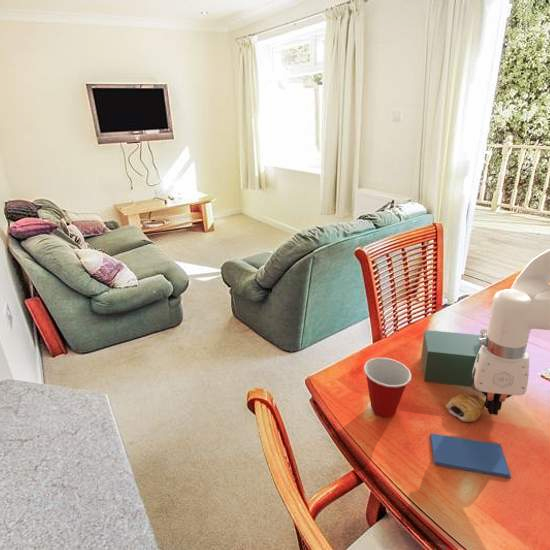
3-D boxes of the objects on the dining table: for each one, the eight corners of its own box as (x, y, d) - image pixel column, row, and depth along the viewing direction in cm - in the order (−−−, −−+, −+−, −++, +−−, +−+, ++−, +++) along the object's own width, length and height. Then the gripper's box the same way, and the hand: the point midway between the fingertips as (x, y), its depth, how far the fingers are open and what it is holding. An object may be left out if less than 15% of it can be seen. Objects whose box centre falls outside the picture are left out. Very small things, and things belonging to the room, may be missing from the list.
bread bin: (479, 364, 106) (484, 337, 102) (488, 389, 96) (494, 361, 93) (421, 358, 110) (424, 332, 106) (424, 381, 101) (427, 354, 97)
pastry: (466, 394, 95) (468, 382, 94) (492, 410, 90) (495, 398, 88) (442, 410, 91) (444, 397, 89) (468, 427, 85) (471, 415, 84)
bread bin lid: (487, 338, 102) (490, 324, 100) (497, 361, 93) (500, 346, 91) (424, 332, 106) (425, 318, 105) (427, 354, 97) (429, 339, 95)
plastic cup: (415, 422, 88) (421, 381, 83) (372, 429, 86) (374, 388, 82) (395, 391, 98) (398, 353, 93) (355, 397, 96) (357, 359, 92)
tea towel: (499, 445, 80) (500, 442, 80) (510, 478, 73) (511, 475, 73) (430, 434, 84) (430, 431, 84) (434, 464, 77) (434, 461, 77)
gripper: (470, 352, 80) (459, 417, 87) (551, 359, 76) (533, 427, 83) (464, 333, 86) (454, 395, 94) (538, 338, 82) (522, 403, 90)
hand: (491, 410), depth 88 cm, fingers closed
